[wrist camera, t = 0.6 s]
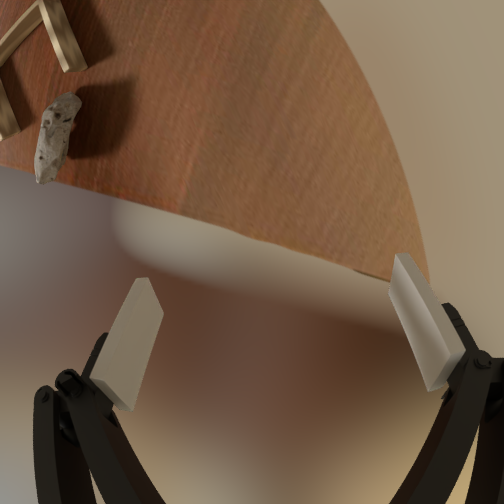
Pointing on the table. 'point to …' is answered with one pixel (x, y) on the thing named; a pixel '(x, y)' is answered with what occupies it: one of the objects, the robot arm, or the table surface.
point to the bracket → (66, 47)
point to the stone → (55, 136)
